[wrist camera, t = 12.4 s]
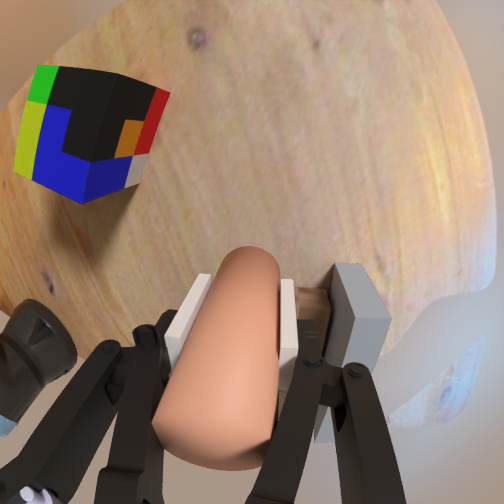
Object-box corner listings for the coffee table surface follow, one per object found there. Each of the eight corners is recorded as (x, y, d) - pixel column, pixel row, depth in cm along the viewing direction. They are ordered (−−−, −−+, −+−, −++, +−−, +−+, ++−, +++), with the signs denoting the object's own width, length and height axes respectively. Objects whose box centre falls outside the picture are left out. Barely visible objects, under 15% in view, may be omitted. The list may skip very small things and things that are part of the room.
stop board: (311, 382, 35) (314, 442, 26) (334, 262, 28) (355, 317, 19) (332, 382, 35) (339, 441, 25) (361, 264, 28) (391, 318, 19)
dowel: (220, 298, 22) (164, 459, 9) (219, 244, 20) (136, 399, 7) (278, 302, 22) (271, 474, 9) (282, 248, 20) (283, 420, 7)
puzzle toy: (140, 183, 27) (81, 204, 18) (74, 158, 27) (13, 170, 18) (170, 92, 24) (118, 73, 14) (98, 77, 23) (37, 64, 14)
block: (218, 361, 35) (211, 383, 31) (214, 281, 30) (204, 300, 27) (310, 368, 34) (312, 391, 30) (325, 288, 29) (330, 309, 26)
